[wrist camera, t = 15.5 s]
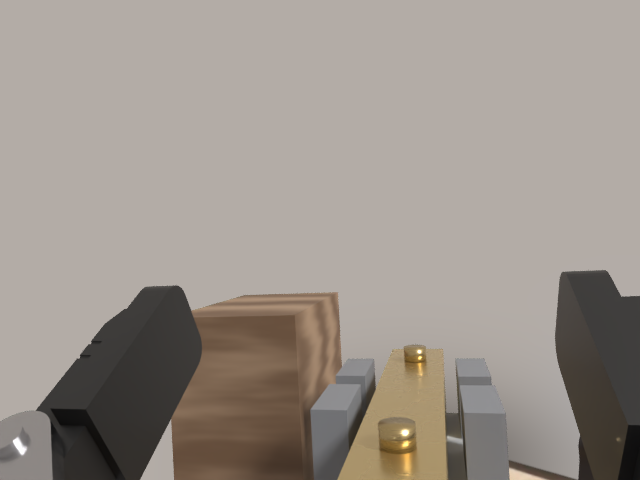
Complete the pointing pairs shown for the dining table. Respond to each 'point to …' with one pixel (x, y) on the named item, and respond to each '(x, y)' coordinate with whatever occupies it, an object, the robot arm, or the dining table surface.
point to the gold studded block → (404, 422)
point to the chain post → (462, 428)
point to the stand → (257, 387)
